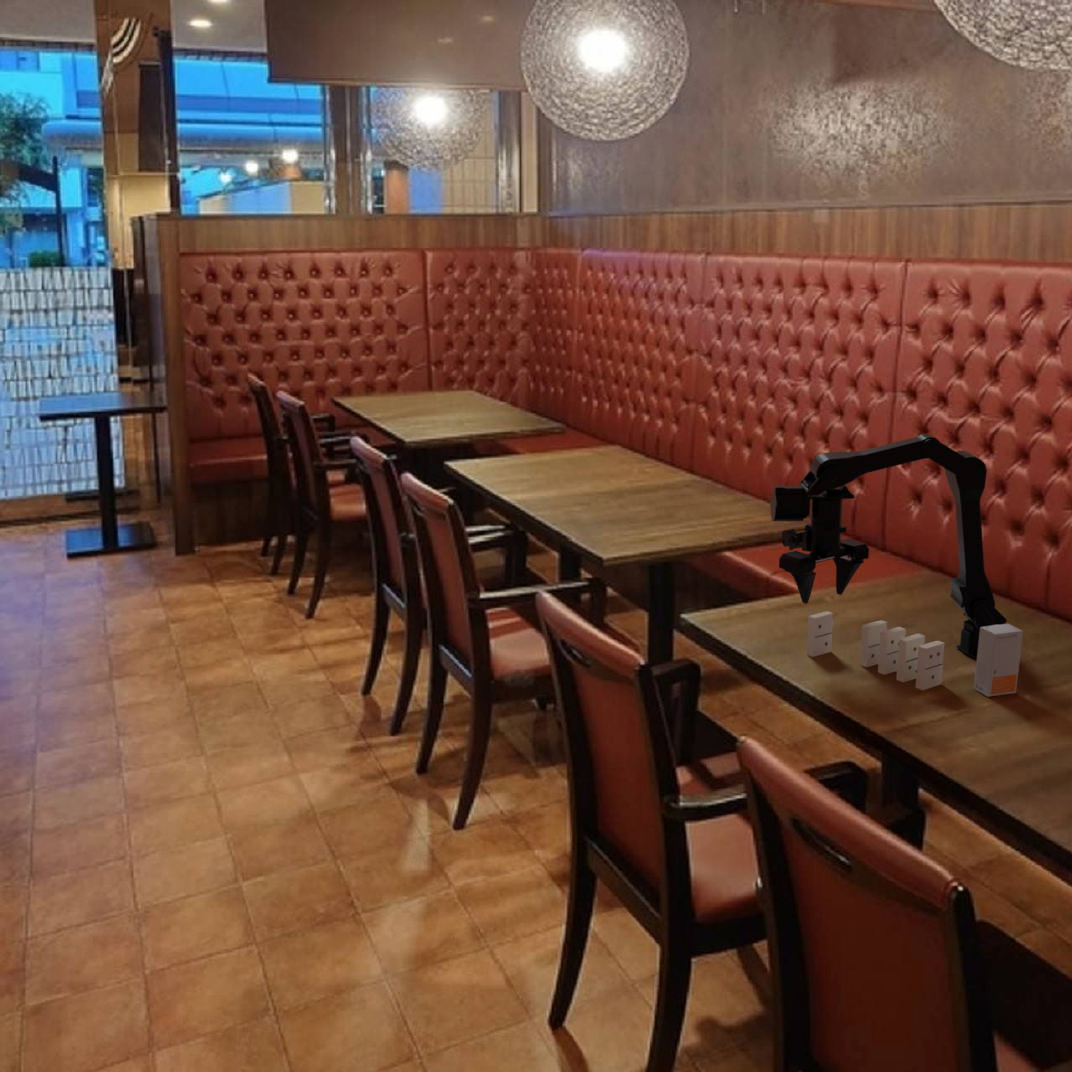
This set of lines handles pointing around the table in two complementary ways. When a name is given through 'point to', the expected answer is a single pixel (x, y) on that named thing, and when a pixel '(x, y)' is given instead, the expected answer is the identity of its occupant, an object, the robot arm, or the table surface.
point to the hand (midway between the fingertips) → (822, 598)
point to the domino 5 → (930, 665)
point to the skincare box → (998, 659)
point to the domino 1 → (819, 633)
